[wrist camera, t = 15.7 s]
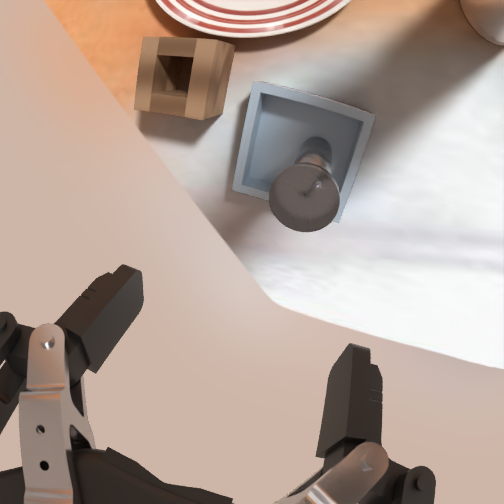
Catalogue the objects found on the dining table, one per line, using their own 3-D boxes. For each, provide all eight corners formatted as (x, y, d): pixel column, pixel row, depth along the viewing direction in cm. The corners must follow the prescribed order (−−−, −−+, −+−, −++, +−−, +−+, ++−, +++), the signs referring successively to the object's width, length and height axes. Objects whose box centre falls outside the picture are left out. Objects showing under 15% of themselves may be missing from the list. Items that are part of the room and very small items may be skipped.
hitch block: (169, 40, 30) (143, 36, 25) (235, 45, 29) (217, 39, 24) (160, 103, 35) (133, 109, 30) (222, 113, 34) (202, 120, 29)
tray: (261, 81, 31) (253, 81, 27) (371, 112, 29) (375, 116, 26) (241, 179, 38) (231, 190, 35) (338, 209, 37) (338, 223, 34)
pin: (300, 125, 31) (277, 157, 19) (343, 138, 31) (349, 179, 19) (290, 164, 34) (262, 220, 22) (330, 177, 34) (326, 240, 22)
